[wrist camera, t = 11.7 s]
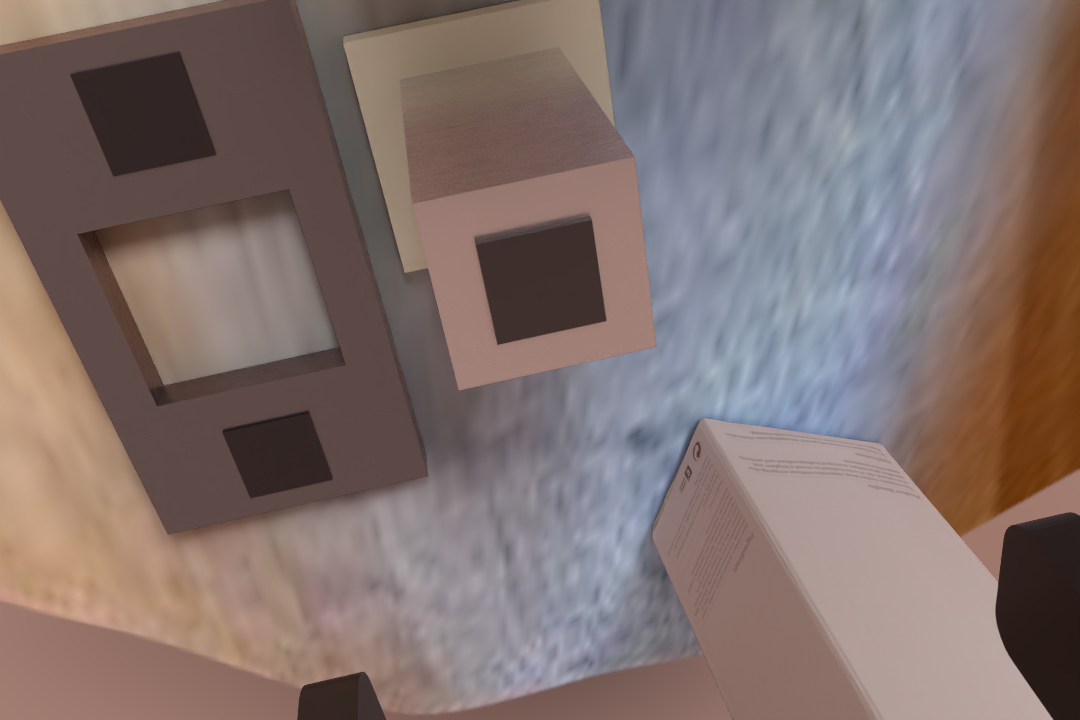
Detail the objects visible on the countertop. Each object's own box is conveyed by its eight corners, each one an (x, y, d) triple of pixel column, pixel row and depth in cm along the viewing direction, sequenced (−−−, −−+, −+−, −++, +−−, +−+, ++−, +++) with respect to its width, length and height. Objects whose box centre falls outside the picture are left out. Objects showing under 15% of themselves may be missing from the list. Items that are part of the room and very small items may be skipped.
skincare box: (646, 530, 38) (785, 909, 25) (700, 403, 35) (887, 758, 22) (833, 553, 40) (1046, 912, 27) (898, 435, 37) (1168, 775, 25)
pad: (592, -15, 27) (598, -10, 26) (621, 215, 31) (627, 225, 30) (343, 36, 27) (343, 42, 26) (403, 261, 30) (404, 273, 30)
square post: (559, 46, 27) (637, 160, 19) (581, 196, 29) (658, 351, 21) (399, 80, 27) (411, 207, 19) (434, 227, 29) (459, 395, 21)
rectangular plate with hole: (291, -14, 26) (288, -4, 25) (426, 455, 34) (428, 477, 33) (-49, 55, 25) (-68, 68, 24) (173, 511, 34) (167, 536, 33)
